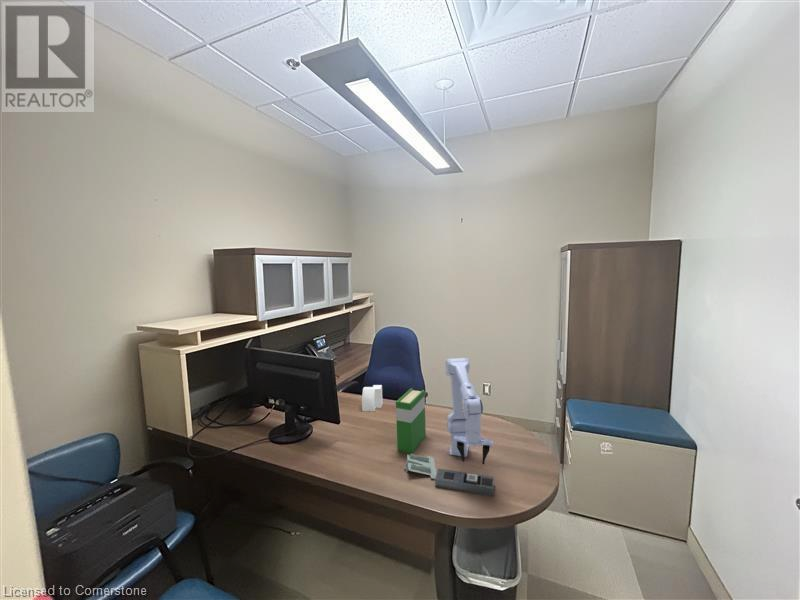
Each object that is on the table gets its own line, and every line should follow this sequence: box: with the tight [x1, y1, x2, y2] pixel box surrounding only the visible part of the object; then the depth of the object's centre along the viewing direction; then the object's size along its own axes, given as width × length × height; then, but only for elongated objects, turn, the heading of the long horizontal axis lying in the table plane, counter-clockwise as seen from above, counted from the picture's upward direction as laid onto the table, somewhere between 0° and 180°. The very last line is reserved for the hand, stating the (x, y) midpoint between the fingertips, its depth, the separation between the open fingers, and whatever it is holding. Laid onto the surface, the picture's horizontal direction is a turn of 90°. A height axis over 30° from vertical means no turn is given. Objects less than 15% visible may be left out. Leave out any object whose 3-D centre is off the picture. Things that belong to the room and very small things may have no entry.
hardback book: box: [395, 387, 427, 455], centre depth 160 cm, size 18×7×24 cm, turn 155°
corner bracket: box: [361, 384, 384, 412], centre depth 202 cm, size 11×11×12 cm
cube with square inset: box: [465, 472, 479, 485], centre depth 129 cm, size 4×4×4 cm
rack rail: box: [434, 468, 495, 497], centre depth 130 cm, size 7×22×3 cm, turn 73°
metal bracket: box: [403, 453, 437, 480], centre depth 141 cm, size 14×6×15 cm
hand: (473, 461), depth 129 cm, fingers open, 7 cm apart
